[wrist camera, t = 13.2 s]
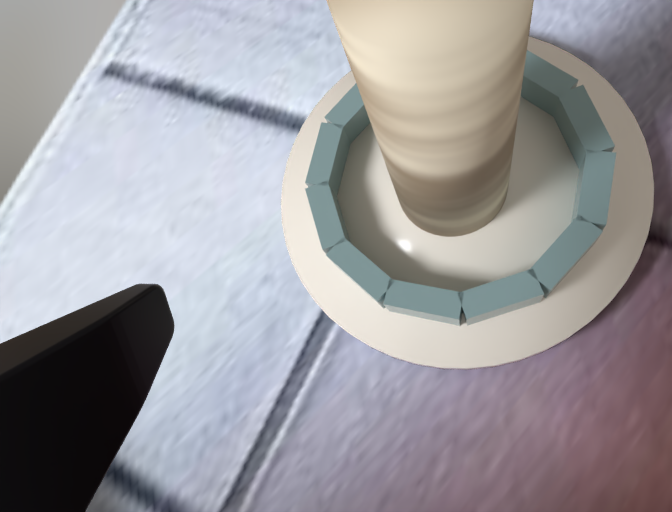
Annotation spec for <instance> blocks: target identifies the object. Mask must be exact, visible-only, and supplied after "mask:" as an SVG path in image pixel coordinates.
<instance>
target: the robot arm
mask: <svg viewBox="0 0 672 512" xmlns="http://www.w3.org/2000/svg"><path fill="white" fill-rule="evenodd" d="M173 333H174V320H173V317H172V314H171V311H170V308H169V305H168V301H167V298H166V295H165V292H164V290H163V288H162V287H161V286H159V285H158V284H136V285H134V286H132V287H129V288H127V289H125V290H122V291H120V292H118V293H115V294H113V295H111V296H109V297H106V298H104V299H102V300H99V301H97V302H95V303H93V304H90V305H88V306H86V307H83V308H81V309H79V310H76V311H74V312H72V313H70V314H67V315H65V316H63V317H60V318H58V319H56V320H54V321H51V322H49V323H47V324H44V325H42V326H40V327H38V328H35V329H33V330H31V331H28V332H26V333H24V334H21V335H19V336H17V337H15V338H12V339H10V340H8V341H5V342H3V343H1V344H0V512H85V511H86V509H87V507H88V505H89V504H90V502H91V500H92V498H93V496H94V494H95V493H96V491H97V489H98V487H99V485H100V484H101V482H102V480H103V478H104V476H105V474H106V473H107V471H108V469H109V467H110V465H111V463H112V462H113V460H114V458H115V456H116V454H117V452H118V451H119V449H120V447H121V445H122V443H123V442H124V440H125V438H126V436H127V434H128V432H129V431H130V429H131V427H132V425H133V423H134V421H135V420H136V418H137V416H138V414H139V412H140V410H141V408H142V406H143V404H144V402H145V400H146V398H147V395H148V393H149V391H150V389H151V386H152V384H153V381H154V379H155V377H156V374H157V372H158V370H159V367H160V365H161V362H162V360H163V358H164V355H165V353H166V351H167V348H168V346H169V343H170V341H171V339H172V336H173Z"/></svg>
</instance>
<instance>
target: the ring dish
mask: <svg viewBox="0 0 672 512" xmlns="http://www.w3.org/2000/svg"><path fill="white" fill-rule="evenodd" d="M653 203H654V180H653V171H652V163H651V159H650V155H649V152H648V148H647V144H646V141H645V138H644V136H643V134H642V131H641V129H640V127H639V125H638V123H637V120H636V118H635V117H634V115H633V113H632V112H631V110H630V109H629V107H628V106H627V104H626V103H625V101H624V100H623V98H622V97H621V96H620V95H619V94H618V93H617V91H616V90H615V89H614V88H613V87H612V86H611V85H610V83H609V82H608V81H607V80H606V79H604V78H603V77H602V76H601V75H600V74H599V73H598V72H596V71H595V70H594V69H593V68H592V67H591V66H589V65H588V64H586V63H585V62H583V61H582V60H580V59H578V58H577V57H575V56H574V55H572V54H571V53H569V52H567V51H565V50H563V49H561V48H558V47H556V46H554V45H552V44H550V43H547V42H544V41H541V40H538V39H536V38H533V37H530V36H529V38H528V45H527V52H526V60H525V67H524V74H523V82H522V89H521V96H520V104H519V111H518V119H517V126H516V133H515V141H514V148H513V155H512V163H511V170H510V177H509V185H508V192H507V196H506V200H505V202H504V204H503V206H502V208H501V210H500V212H499V213H498V214H497V215H496V217H495V218H494V219H493V220H492V221H491V222H490V223H488V224H487V225H486V226H484V227H483V228H481V229H479V230H477V231H475V232H473V233H470V234H466V235H463V236H456V237H445V236H438V235H434V234H431V233H428V232H426V231H424V230H422V229H420V228H419V227H417V226H416V225H415V224H413V223H412V222H411V221H410V220H409V219H408V217H407V216H406V215H405V213H404V212H403V210H402V208H401V205H400V203H399V200H398V197H397V195H396V192H395V189H394V186H393V183H392V181H391V178H390V175H389V172H388V170H387V167H386V164H385V161H384V159H383V156H382V153H381V150H380V147H379V145H378V142H377V139H376V136H375V134H374V131H373V128H372V125H371V122H370V120H369V117H368V114H367V111H366V109H365V106H364V103H363V100H362V97H361V95H360V92H359V89H358V86H357V84H356V81H355V78H354V75H353V73H352V70H351V71H350V72H349V73H348V74H346V75H345V76H344V77H342V78H341V79H340V80H339V81H338V82H337V83H336V84H335V85H334V86H333V87H332V88H331V89H330V90H329V91H328V92H327V93H326V94H325V95H324V96H323V98H322V99H321V100H320V101H319V102H318V104H317V105H316V106H315V107H314V109H313V110H312V112H311V113H310V115H309V116H308V118H307V119H306V121H305V122H304V124H303V126H302V128H301V130H300V132H299V134H298V136H297V138H296V140H295V142H294V144H293V147H292V150H291V152H290V155H289V158H288V161H287V164H286V169H285V174H284V178H283V184H282V196H281V213H282V226H283V231H284V237H285V242H286V246H287V249H288V252H289V255H290V258H291V260H292V263H293V266H294V268H295V270H296V272H297V274H298V276H299V278H300V280H301V282H302V283H303V285H304V286H305V288H306V289H307V291H308V292H309V294H310V295H311V297H312V298H313V299H314V301H315V302H316V303H317V304H318V305H319V306H320V307H321V309H322V310H323V311H324V312H325V313H326V314H327V315H328V316H329V317H330V318H331V319H332V320H333V321H334V322H336V323H337V324H338V325H339V326H340V327H342V328H343V329H344V330H345V331H346V332H348V333H349V334H351V335H352V336H354V337H355V338H357V339H359V340H360V341H362V342H363V343H365V344H367V345H368V346H370V347H371V348H373V349H375V350H378V351H380V352H382V353H384V354H387V355H389V356H391V357H393V358H396V359H399V360H403V361H406V362H409V363H413V364H416V365H421V366H427V367H433V368H439V369H458V370H471V369H481V368H491V367H497V366H501V365H505V364H509V363H514V362H518V361H521V360H523V359H526V358H529V357H531V356H534V355H537V354H539V353H542V352H544V351H546V350H548V349H550V348H552V347H553V346H555V345H557V344H559V343H561V342H563V341H564V340H566V339H568V338H569V337H570V336H572V335H573V334H574V333H576V332H577V331H578V330H580V329H581V328H583V327H584V326H585V325H587V324H588V323H589V322H590V321H591V320H593V319H594V318H595V317H596V316H597V315H598V314H599V313H600V312H601V311H602V310H603V309H604V308H605V307H606V306H607V305H608V304H609V303H610V302H611V301H612V300H613V298H614V297H615V296H616V294H617V293H618V292H619V290H620V289H621V288H622V287H623V285H624V284H625V283H626V281H627V280H628V278H629V276H630V274H631V273H632V271H633V269H634V267H635V265H636V264H637V262H638V260H639V258H640V256H641V253H642V250H643V247H644V245H645V242H646V239H647V236H648V233H649V228H650V223H651V218H652V213H653Z"/></svg>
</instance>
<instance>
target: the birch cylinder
mask: <svg viewBox="0 0 672 512" xmlns="http://www.w3.org/2000/svg"><path fill="white" fill-rule="evenodd" d="M533 1H534V0H327V3H328V6H329V9H330V11H331V14H332V17H333V20H334V23H335V25H336V28H337V31H338V34H339V36H340V39H341V42H342V45H343V48H344V50H345V53H346V56H347V59H348V61H349V64H350V67H351V70H352V73H353V75H354V78H355V81H356V84H357V86H358V89H359V92H360V95H361V97H362V100H363V103H364V106H365V109H366V111H367V114H368V117H369V120H370V122H371V125H372V128H373V131H374V134H375V136H376V139H377V142H378V145H379V147H380V150H381V153H382V156H383V159H384V161H385V164H386V167H387V170H388V172H389V175H390V178H391V181H392V183H393V186H394V189H395V192H396V195H397V197H398V200H399V203H400V205H401V208H402V210H403V212H404V213H405V215H406V216H407V217H408V219H409V220H410V221H411V222H412V223H413V224H415V225H416V226H417V227H419V228H420V229H422V230H424V231H426V232H428V233H431V234H434V235H438V236H445V237H456V236H463V235H466V234H470V233H473V232H475V231H477V230H479V229H481V228H483V227H484V226H486V225H487V224H488V223H490V222H491V221H492V220H493V219H494V218H495V217H496V215H497V214H498V213H499V212H500V210H501V208H502V206H503V204H504V202H505V200H506V196H507V192H508V185H509V177H510V170H511V163H512V155H513V148H514V141H515V133H516V126H517V119H518V111H519V104H520V96H521V89H522V82H523V74H524V67H525V60H526V52H527V45H528V38H529V30H530V23H531V16H532V8H533Z"/></svg>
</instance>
